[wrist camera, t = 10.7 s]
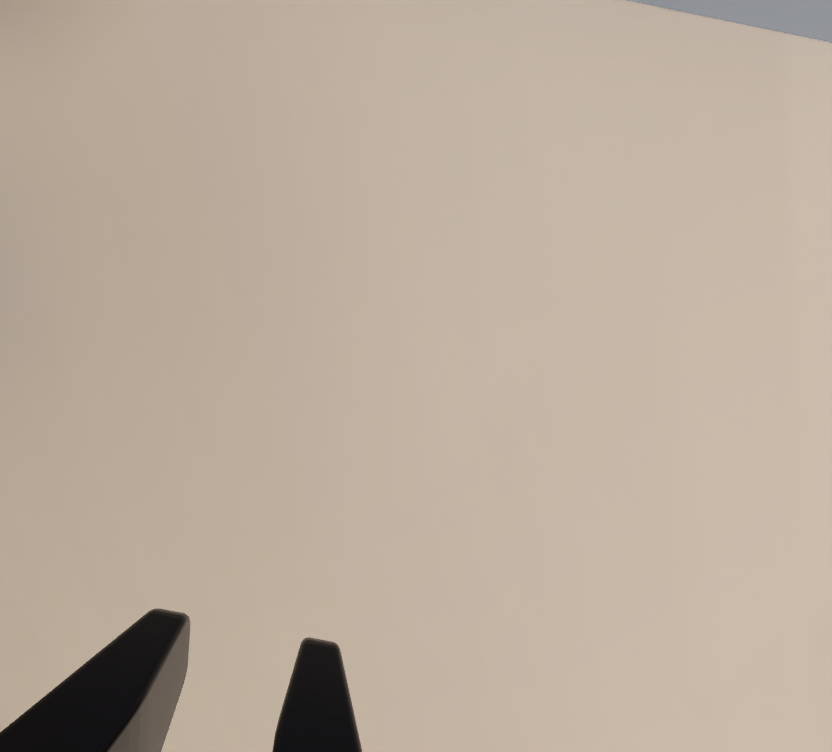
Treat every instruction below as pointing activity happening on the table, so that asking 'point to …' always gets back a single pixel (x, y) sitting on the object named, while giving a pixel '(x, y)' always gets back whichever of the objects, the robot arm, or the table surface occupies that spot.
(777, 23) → the base board
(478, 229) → the table surface
